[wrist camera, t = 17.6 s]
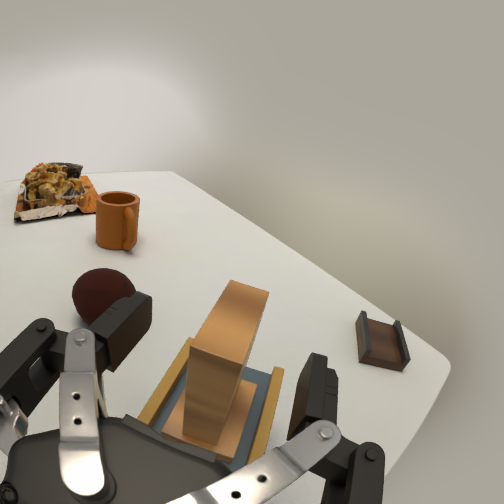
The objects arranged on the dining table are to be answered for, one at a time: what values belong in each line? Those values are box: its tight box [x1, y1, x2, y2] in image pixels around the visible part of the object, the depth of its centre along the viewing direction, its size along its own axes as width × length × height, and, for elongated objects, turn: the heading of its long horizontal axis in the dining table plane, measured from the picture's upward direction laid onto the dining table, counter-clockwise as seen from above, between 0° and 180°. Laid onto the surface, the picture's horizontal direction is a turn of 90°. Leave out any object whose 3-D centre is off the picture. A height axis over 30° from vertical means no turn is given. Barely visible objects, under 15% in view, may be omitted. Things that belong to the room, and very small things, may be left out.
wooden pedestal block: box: [161, 280, 269, 463], centre depth 16 cm, size 7×5×10 cm
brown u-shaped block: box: [356, 311, 411, 371], centre depth 41 cm, size 10×8×3 cm
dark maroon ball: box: [72, 268, 136, 325], centre depth 33 cm, size 8×9×8 cm
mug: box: [96, 191, 140, 250], centre depth 51 cm, size 9×12×9 cm
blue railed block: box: [137, 337, 284, 473], centre depth 20 cm, size 12×9×9 cm
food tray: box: [14, 163, 98, 221], centre depth 64 cm, size 35×26×11 cm
